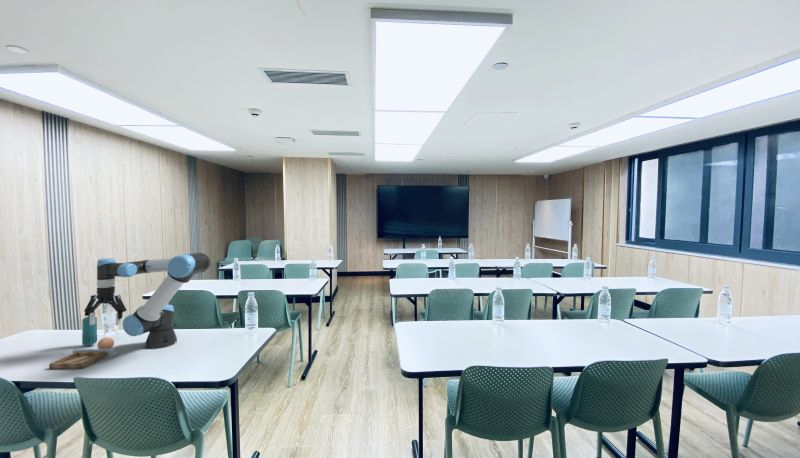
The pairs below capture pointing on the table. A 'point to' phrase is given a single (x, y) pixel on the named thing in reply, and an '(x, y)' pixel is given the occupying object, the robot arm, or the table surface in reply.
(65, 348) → the table surface
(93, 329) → the beverage bottle
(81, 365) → the walnut tray
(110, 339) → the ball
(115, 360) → the table surface
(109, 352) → the acrylic divider
